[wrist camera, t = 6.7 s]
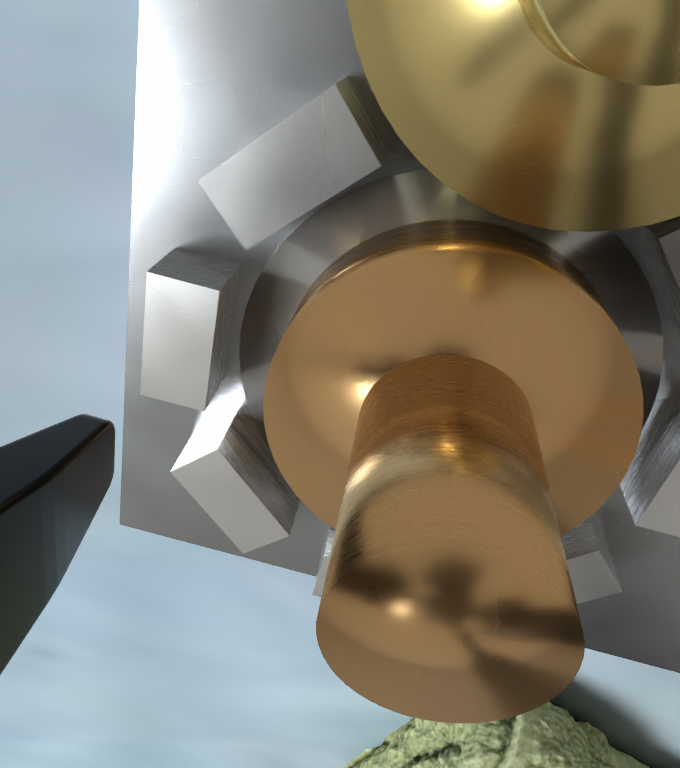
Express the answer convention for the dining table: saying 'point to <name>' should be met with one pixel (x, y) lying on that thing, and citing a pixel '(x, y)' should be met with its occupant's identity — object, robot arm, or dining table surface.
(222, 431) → the carrier plate
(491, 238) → the bronze flanged knob
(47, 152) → the dining table surface
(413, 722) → the washcloth
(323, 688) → the dining table surface
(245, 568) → the dining table surface
